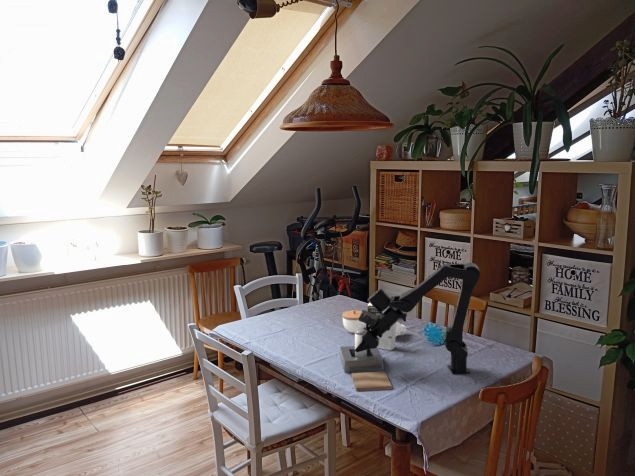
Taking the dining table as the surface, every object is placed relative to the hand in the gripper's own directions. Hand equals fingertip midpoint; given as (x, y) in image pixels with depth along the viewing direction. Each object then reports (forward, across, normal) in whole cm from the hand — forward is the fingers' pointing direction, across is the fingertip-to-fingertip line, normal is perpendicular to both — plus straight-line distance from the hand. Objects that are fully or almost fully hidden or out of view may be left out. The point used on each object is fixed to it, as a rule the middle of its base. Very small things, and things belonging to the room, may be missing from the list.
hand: (357, 346), depth 200 cm
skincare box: (-2, -18, +12) cm, 22 cm away
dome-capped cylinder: (+4, 0, +6) cm, 7 cm away
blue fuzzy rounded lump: (-16, -27, +25) cm, 40 cm away
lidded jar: (+9, -36, +1) cm, 38 cm away
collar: (+4, 0, +6) cm, 7 cm away
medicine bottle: (+4, -56, +6) cm, 57 cm away
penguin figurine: (-4, -31, +14) cm, 34 cm away
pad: (0, +15, +10) cm, 18 cm away
